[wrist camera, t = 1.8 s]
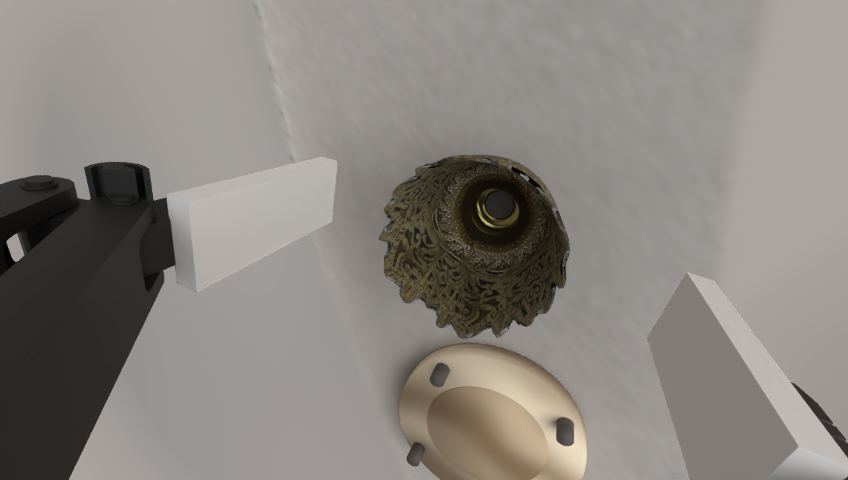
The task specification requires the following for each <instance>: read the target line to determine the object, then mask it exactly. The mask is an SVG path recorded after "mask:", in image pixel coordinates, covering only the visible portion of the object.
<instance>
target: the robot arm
mask: <svg viewBox="0 0 848 480" xmlns="http://www.w3.org/2000/svg"><path fill="white" fill-rule="evenodd" d="M337 164H338V161H335V160H332V159H329V158H326V157H323V156H321V157H317V158H313V159H309V160H305V161H301V162H297V163H293V164H289V165H284V166H280V167H276V168H272V169H268V170H264V171H260V172H256V173H251V174H247V175H244V176H239V177H235V178H231V179H227V180H223V181H218V182H215V183H210V184H206V185H202V186H198V187H194V188H190V189H185V190H182V191H177V192H173V193H169V194H166V197H167V198H163V199H159V200H156V201H154V200H153V193H152V186H151V179H150V172H149V169H148V168H147V167H145V166H143V165H139V164H134V163H127V162H105V163H98V164H93V165H89V166H87V167H84V169H85V174H86V178H87V183H88V187H89V191H90V196H91V199H90V200H84V199H79V198H77V193H76V189H75V185H74V182H72V181H71V180H69V179H64V178H59V177H51V176H48V175H43V176H41V175H40V176H39V175H37V176H30V177H26V178H21V179H17V180H13V181H9V182H6V183H4V184H0V480H69V478H70V476H71V474H72V472H73V470H74V467H75V465H76V463H77V461H78V459H79V457H80V455H81V453H82V451H83V449H84V447H85V444H86V443H87V441H88V438H89V436H90V434H91V432H92V430H93V428H94V426H95V424H96V422H97V420H98V418H99V416H100V413H101V411H102V409H103V407H104V405H105V403H106V401H107V399H108V397H109V395H110V393H111V391H112V389H113V387H114V384H115V382H116V380H117V378H118V376H119V374H120V372H121V370H122V368H123V366H124V364H125V362H126V360H127V358H128V356H129V353H130V351H131V349H132V347H133V345H134V343H135V341H136V339H137V337H138V335H139V333H140V331H141V329H142V327H143V324H144V322H145V320H146V318H147V316H148V314H149V312H150V310H151V308H152V306H153V304H154V302H155V299H156V297H157V295H158V293H159V291H160V289H161V287H162V285H163V283H164V272H163V270H165V269H167V268H169V267H171V266H174V265H175V270H176V279H177V283H178V284H180V285H182V286H184V287H186V288H188V289H191V290H193V291H195V292H199V291H201V290H203V289H205V288H207V287H209V286H211V285H212V284H214V283H216V282H218V281H220V280H222V279H224V278H226V277H228V276H230V275H232V274H233V273H235V272H237V271H239V270H241V269H243V268H245V267H247V266H248V265H251V264H253V263H254V262H256V261H258V260H260V259H262V258H264V257H266V256H268V255H270V254H272V253H274V252H275V251H277V250H279V249H281V248H283V247H285V246H287V245H289V244H291V243H293V242H294V241H296V240H298V239H300V238H302V237H304V236H306V235H308V234H310V233H312V232H314V231H316V230H317V229H319V228H321V227H323V226H325V225H327V224H329V223H331V222H332V217H333V207H334V196H335V185H336V175H337ZM16 233H17V234H18V237H19V240H20V243H21V246H22V249H23V252H24V255H25V256H24V257H22V258H21V259H20V260H19V261H17V262H15V261H14V260H13V259H12V257H11V254H10V251H9V248H8V246H7V243H6V242H7V240H8V239H9V238H10V237H12V236H13V235H14V234H16ZM647 339H648V342H649V345H650V348H651V352H652V355H653V358H654V362H655V365H656V368H657V371H658V375H659V378H660V381H661V385H662V388H663V391H664V394H665V398H666V401H667V404H668V408H669V411H670V414H671V418H672V421H673V424H674V427H675V431H676V434H677V437H678V441H679V444H680V447H681V450H682V454H683V457H684V460H685V464H686V467H687V470H688V473H689V477H690V480H848V443H846V442H845V441H846V439H845V438H844V436H843V435H842V434H841V432H840V431H839V430H838V429H837V427H835V426H832V424H833V422H832V421H831V420H830V418H829V417H828V416H827V415H826V413H825V412H824V411H823V410H822V408H821V407H820V406H819V405H818V403H816V402H815V401H814V400H813V399H812V398H811V397H809V396H808V395H807V394H806V393H805V392H804V391H803V390H801V389H800V388H799V387H798V386H797V385H795V384H794V383H791V382H790V381H789V380H788V379H787V377H786V376H785V374H784V373H783V372H782V370H781V369H780V368H779V367H778V365H777V364H776V362H775V361H774V360H773V359H772V357H771V356H770V355H769V353H768V352H767V351H766V349H765V348H764V347H763V345H762V344H761V343H760V341H759V340H758V339H757V337H756V336H755V335H754V333H753V332H752V331H751V329H750V328H749V327H748V325H747V324H746V323H745V321H744V320H743V319H742V317H741V316H740V315H739V314H738V312H737V311H736V310H735V308H734V307H733V306H732V304H731V303H730V302H729V300H728V299H727V298H726V296H725V295H724V294H723V292H722V291H721V290H720V288H719V287H718V286H717V284H716V283H715V282H714V281H713V280H710V279H707V278H704V277H701V276H698V275H694V274H691V273H688V272H687V273H686V275H685V276H684V278H683V280H682V281H681V283H680V285H679V286H678V288H677V290H676V291H675V293H674V294H673V296H672V298H671V299H670V301H669V303H668V304H667V306H666V308H665V309H664V311H663V313H662V314H661V316H660V318H659V319H658V321H657V322H656V324H655V326H654V327H653V329H652V331H651V332H650V334H649V336H648V337H647Z"/></svg>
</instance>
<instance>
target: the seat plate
mask: <svg viewBox="0 0 848 480" xmlns="http://www.w3.org/2000/svg"><path fill="white" fill-rule="evenodd" d="M399 418H400V423H401V426H402V430H403V433H404V435H405V437H406V439H407V441H408V443H409V445H410V447H411V450H410V452H409V454H408V456H407V462H408V463H409V464H410V465H412V466H418V465H419V463H420V461H422V463H423V464H424V465H425V466H426V467H427V468H428V469H429V470H430V471H431V472H432V473H433V474H435V475H436V476H437V477H438V478H440V479H441V480H581V479H582V477H583V475H584V471H585V468H586V458H587V451H586V433H585V426H584V422H583V419H582V416H581V413H580V411H579V409H578V407H577V405H576V403H575V401H574V400H573V398H572V397H571V395H570V394H569V393H568V391H567V390H566V389H565V388H564V387H563V385H562V384H561V383H560V382H559V381H558V380H557V379H555V378H554V377H553V376H552V375H551V374H550V373H549V372H547V371H546V370H545V369H543V368H542V367H541V366H539V365H537V364H536V363H534V362H532V361H531V360H529V359H527V358H525V357H523V356H521V355H519V354H517V353H514V352H511V351H509V350H506V349H503V348H499V347H495V346H490V345H483V344H457V345H452V346H447V347H444V348H441V349H439V350H436V351H434V352H432V353H431V354H429V355H427V356H426V357H425V358H424V359H422V360H421V361H420V362H419V363H418V365H417V366H416V367H415V368H414V370H413V372H412V373H411V375H410V377H409V379H408V380H407V382H406V384H405V386H404V387H403V389H402V392H401V395H400V400H399Z"/></svg>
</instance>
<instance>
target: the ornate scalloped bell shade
mask: <svg viewBox="0 0 848 480" xmlns="http://www.w3.org/2000/svg"><path fill="white" fill-rule="evenodd" d="M415 171H416V176H414V177H411V178H409V179H408V180H406V181H404V182H402V183H401V184H400V185H399V186H398V187H397V188H396V189H395V190H394V191H393V194H392V196H393V197H394V198H392V199H391V202H390V203H389V204H388V205H387V206H386V207H385V209H384V211H385V213H386V214H387V218H388V219H390V220H391V222H389V224H388V225H387V226H385V227H384V230H383V232H382V233H381V235H380V237H379V240H381V241H384V242H387V243H388V244H387V252H386V254H385V256H384V273H385V275H386V277H387V278H388V279H390V280H391V281H393V282H394V283H395V284H396V285H398V286H399V287H400V288H401V289H400V293H399V294H400V296H401V298H402V300H403V301H404V302H405V303H412V302H413V301H415V300H416V299H419V298H420V299H421V300H422V301H423V302H424V303H425V305H426V307H427V308H428V309H433V310H434V311H436V316H437V321H436V325H437V326H438V327H439V328H445V327H447V326H449V325H450V324H451V325H452V326H453V328H454V330H455V331H456V333H457V335H458V336H459V337H460V338H472V337H474V336H476V335H478V334H480V333H481V332H482V331H484V330H486V329H489V328H492V331H493V333H494V334H495V336H496V337H497V338H499V337H501V336H502V335H503V334H504V333H505V332H507V331H508V329H509V326H510V324H511V323H512V321H513V320H515V321H516V322H517V324H518V325H519V324H521V325H523V326H526V327H528V326H529V325H531V324H532V323H533V321H534V319H535V317H536V316H537V315H538V313H540V314H545V313H547V312H548V311H549V309H550V307H551V305H552V303H553V300H554V296H555V290H556V285H557V287H558V289H560V288H564V286H565V282H566V269H565V267H566V261H567V259H568V257H569V251H570V246H569V239H568V235H567V232H566V230H565V227H564V224H563V222H562V220H561V217H560V214H559V211H558V209H557V206H556V204H555V201H554V199H553V197H552V195H551V193H550V192H549V190H548V189H547V187H546V186H545V184H544V183H543V182H542V181H541V180H540V178H539V177H538V176H536V175H535V174H534V173H533V172H532V171H531V170H529V169H528V168H526V167H525V166H523V165H521V164H519V163H517V162H515V161H512V160H510V159H507V158H503V157H498V156H490V155H474V156H469V155H459V156H452V157H448V158H444V159H442V160H440V161H438V162H436V163H432V164H426V165H423V166H421V167H419V168H417V169H416V170H415ZM496 191H503V192H506V193H508V194H509V195H510V196H511V197H512V199H513V201H514V209H513V212H512V213H511V214H510V215H509V216H508V217H506V218H503V219H497V218H494V217H492V216H491V215H490V214H489V213H488V212H487V210H486V200H487V198H488V196H489V195H490V194H492V193H493V192H496Z"/></svg>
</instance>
